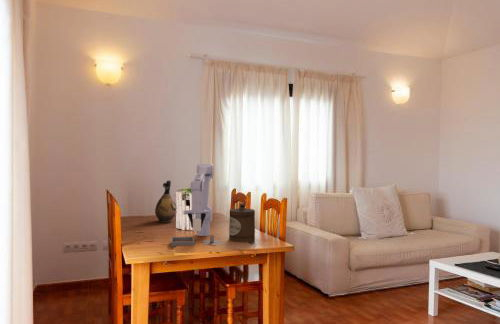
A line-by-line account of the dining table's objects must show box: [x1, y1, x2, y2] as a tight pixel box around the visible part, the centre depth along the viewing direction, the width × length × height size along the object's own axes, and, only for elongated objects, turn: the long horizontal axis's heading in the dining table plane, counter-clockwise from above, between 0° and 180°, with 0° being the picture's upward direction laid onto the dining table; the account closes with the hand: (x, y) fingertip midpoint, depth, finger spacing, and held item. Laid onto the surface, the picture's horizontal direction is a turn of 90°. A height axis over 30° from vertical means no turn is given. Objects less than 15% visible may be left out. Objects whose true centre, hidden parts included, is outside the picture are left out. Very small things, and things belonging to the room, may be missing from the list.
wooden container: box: [228, 202, 256, 244], centre depth 230 cm, size 15×15×22 cm
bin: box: [170, 236, 195, 249], centre depth 218 cm, size 12×12×3 cm
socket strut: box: [191, 218, 201, 232], centre depth 219 cm, size 4×4×6 cm
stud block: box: [201, 234, 223, 246], centre depth 220 cm, size 12×10×5 cm
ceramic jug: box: [154, 180, 177, 223], centre depth 292 cm, size 17×15×30 cm
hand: (196, 227), depth 219 cm, fingers closed on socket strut, 4 cm apart
